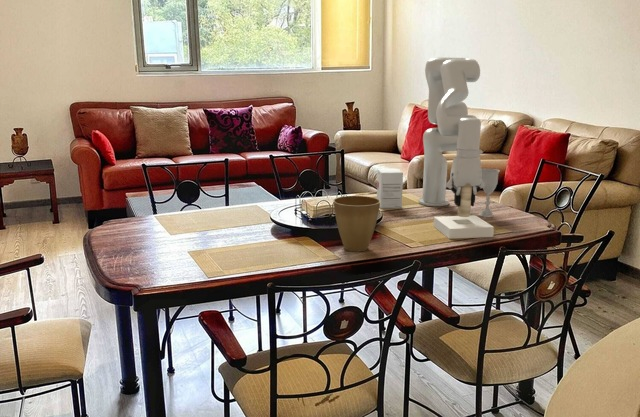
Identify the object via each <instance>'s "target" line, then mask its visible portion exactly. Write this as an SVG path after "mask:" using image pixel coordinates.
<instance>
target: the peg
mask: <svg viewBox="0 0 640 417" xmlns="http://www.w3.org/2000/svg"><path fill="white" fill-rule="evenodd" d="M471 195H472V186H471V185H470V183H466V185H465V186H463V187H461V190H460V196H461V201H460V206H457V214H456V216H460V217H469V216H471V208H472V206H471Z"/></svg>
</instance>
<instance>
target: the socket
mask: <svg viewBox="0 0 640 417" xmlns="http://www.w3.org/2000/svg"><path fill="white" fill-rule="evenodd" d="M433 227H434V229H435V228H436V230H437V231H439V232H440V233H441V234H443V235H444V236H445V237H446V238H448V239H449V240H453V239H470V238H471V239H472V238H473V239H475V238H477V239H478V238H494V231H495V227H494V226H493V225H491V224H490V223H489V222H486V221H485V220H483V219H482V218H480V217H478V216H477V215H474V214H473V215H470V216H469V217H460V216H458V215H450V216H448V215H447V216H444V215H443V216H433Z"/></svg>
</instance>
